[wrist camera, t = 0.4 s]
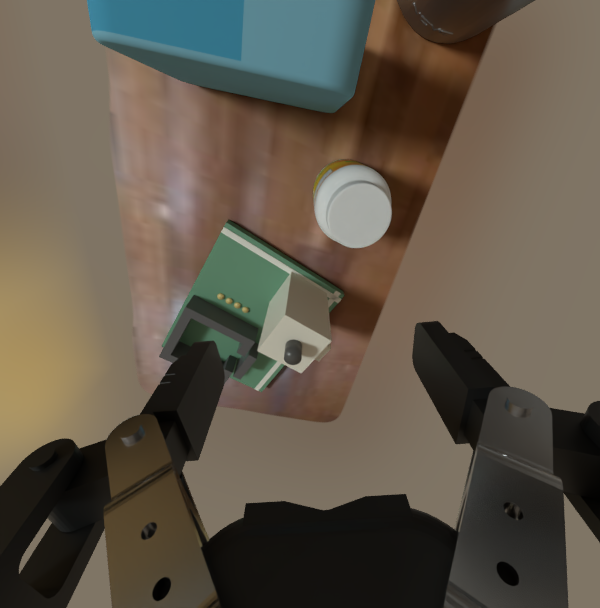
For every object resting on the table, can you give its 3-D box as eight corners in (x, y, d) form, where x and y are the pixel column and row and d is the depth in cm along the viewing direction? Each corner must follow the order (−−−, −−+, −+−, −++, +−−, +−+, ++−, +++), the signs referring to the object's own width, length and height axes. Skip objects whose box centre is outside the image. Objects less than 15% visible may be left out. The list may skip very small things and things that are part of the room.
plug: (291, 271, 28) (283, 326, 20) (334, 298, 30) (343, 358, 22) (269, 302, 30) (254, 363, 22) (310, 325, 32) (310, 391, 24)
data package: (348, 41, 20) (393, -59, 10) (334, 114, 23) (358, 95, 12) (181, 2, 19) (40, -152, 9) (183, 83, 22) (74, 33, 11)
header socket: (200, 281, 29) (192, 293, 27) (276, 322, 32) (274, 336, 30) (168, 342, 34) (158, 356, 31) (237, 374, 36) (232, 389, 34)
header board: (228, 219, 27) (226, 222, 26) (343, 291, 31) (344, 296, 30) (165, 341, 35) (161, 346, 34) (262, 386, 39) (261, 392, 38)
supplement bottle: (384, 179, 25) (423, 201, 17) (349, 231, 27) (368, 272, 19) (333, 145, 24) (349, 149, 15) (301, 202, 26) (300, 233, 18)
